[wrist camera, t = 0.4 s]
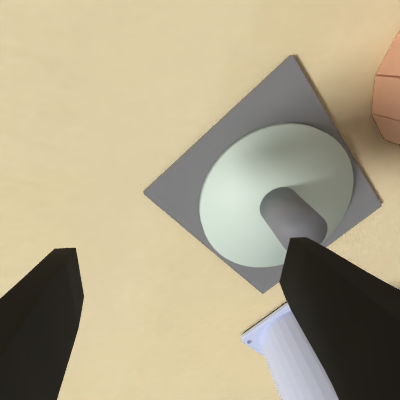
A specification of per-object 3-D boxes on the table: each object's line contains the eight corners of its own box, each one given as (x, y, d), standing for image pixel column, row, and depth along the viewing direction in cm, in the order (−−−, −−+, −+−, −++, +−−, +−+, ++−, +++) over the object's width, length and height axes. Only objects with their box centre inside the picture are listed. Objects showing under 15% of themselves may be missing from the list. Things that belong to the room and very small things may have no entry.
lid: (369, 197, 21) (418, 229, 18) (257, 281, 24) (279, 326, 20) (298, 83, 16) (344, 92, 13) (165, 202, 19) (170, 241, 15)
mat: (378, 203, 22) (382, 205, 22) (261, 290, 25) (262, 294, 24) (289, 55, 16) (292, 55, 16) (143, 191, 18) (143, 193, 18)
